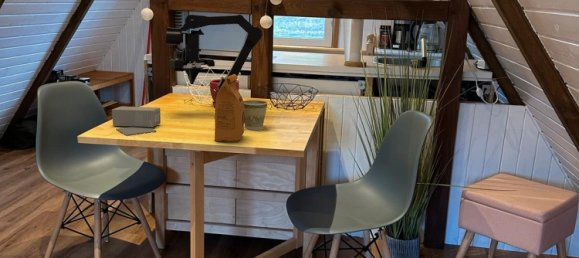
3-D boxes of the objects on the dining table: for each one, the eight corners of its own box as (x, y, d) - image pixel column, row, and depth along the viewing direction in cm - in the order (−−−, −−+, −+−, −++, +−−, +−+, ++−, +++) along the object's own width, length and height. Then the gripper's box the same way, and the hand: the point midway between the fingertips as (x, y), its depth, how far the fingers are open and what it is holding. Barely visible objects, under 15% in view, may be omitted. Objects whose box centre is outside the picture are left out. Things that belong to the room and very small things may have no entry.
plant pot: (231, 102, 246) (231, 77, 243) (243, 108, 235) (243, 81, 232) (205, 104, 239) (205, 79, 236) (216, 110, 228) (216, 83, 225)
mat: (145, 126, 194) (145, 125, 194) (156, 132, 186) (156, 130, 186) (116, 129, 187) (116, 128, 187) (126, 135, 180) (126, 134, 179)
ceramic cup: (256, 132, 190) (257, 105, 188) (235, 128, 195) (235, 102, 193) (276, 126, 201) (277, 100, 199) (255, 122, 206) (255, 97, 204)
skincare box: (152, 110, 188) (111, 107, 190) (152, 129, 190) (111, 126, 191) (161, 106, 196) (121, 104, 198) (161, 125, 198) (121, 122, 199)
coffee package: (248, 135, 185) (249, 74, 180) (238, 144, 173) (239, 78, 168) (221, 133, 187) (221, 72, 182) (210, 142, 175) (210, 77, 170)
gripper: (201, 43, 221) (200, 80, 225) (161, 44, 209) (161, 82, 213) (216, 46, 213) (215, 84, 217) (175, 46, 201) (175, 86, 205)
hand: (191, 84), depth 213 cm, fingers closed
